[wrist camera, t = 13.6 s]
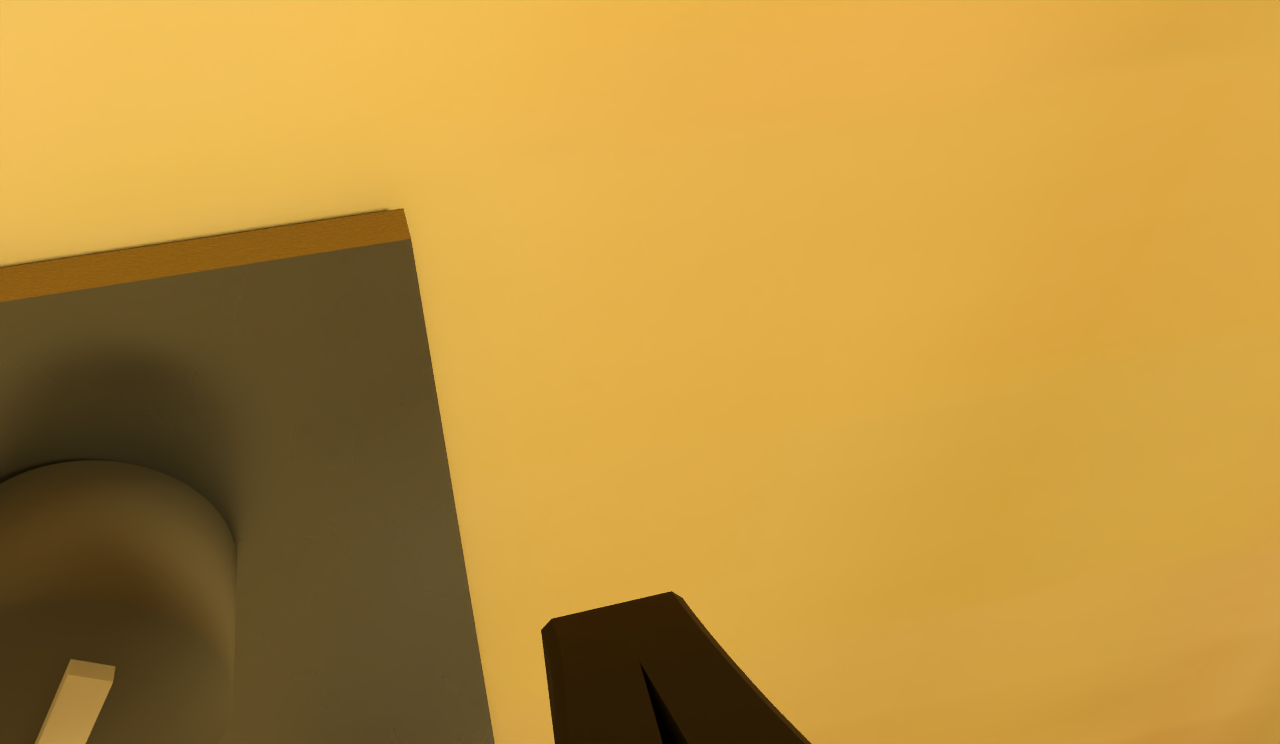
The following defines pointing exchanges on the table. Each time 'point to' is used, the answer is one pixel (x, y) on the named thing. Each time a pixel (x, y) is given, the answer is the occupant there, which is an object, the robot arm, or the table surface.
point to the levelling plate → (274, 457)
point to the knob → (114, 608)
